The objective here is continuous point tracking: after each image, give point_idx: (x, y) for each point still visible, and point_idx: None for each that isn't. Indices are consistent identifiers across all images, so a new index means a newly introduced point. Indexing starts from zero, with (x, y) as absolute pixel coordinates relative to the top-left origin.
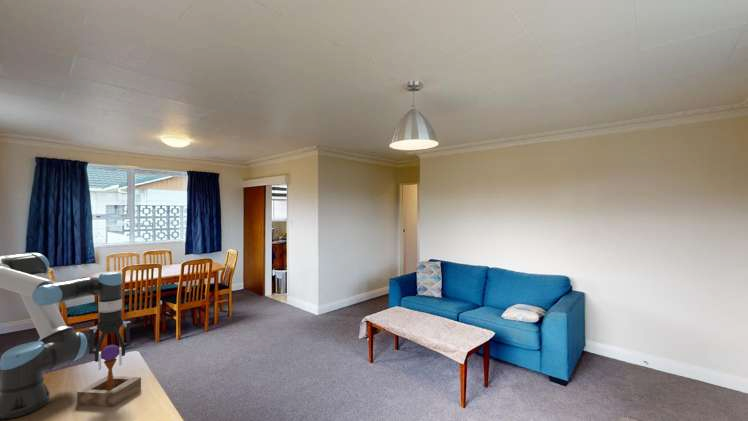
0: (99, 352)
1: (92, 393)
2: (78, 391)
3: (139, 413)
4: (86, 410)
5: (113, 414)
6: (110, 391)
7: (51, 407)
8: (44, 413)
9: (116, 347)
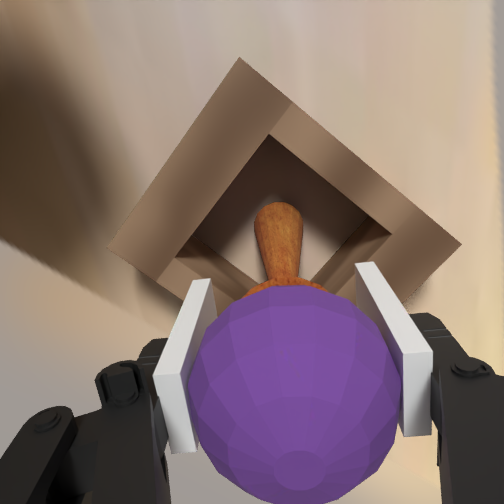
0: (167, 399)
1: None
2: (113, 248)
3: (406, 462)
4: None
5: None
6: None
7: (13, 182)
8: (9, 237)
9: (378, 462)
